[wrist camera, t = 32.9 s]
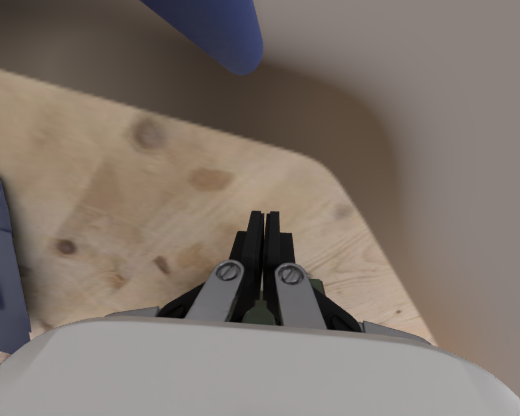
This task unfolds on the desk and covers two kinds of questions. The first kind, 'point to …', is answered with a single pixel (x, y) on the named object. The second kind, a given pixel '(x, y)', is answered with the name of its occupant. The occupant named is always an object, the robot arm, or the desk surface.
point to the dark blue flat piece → (10, 289)
